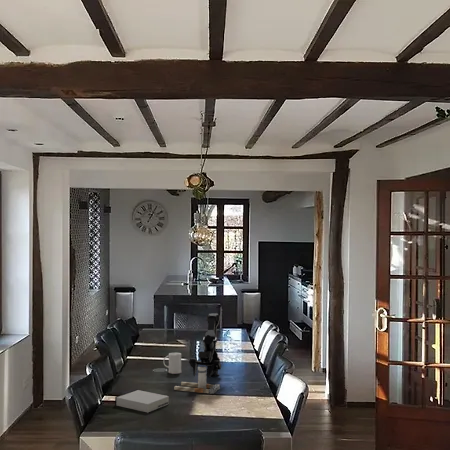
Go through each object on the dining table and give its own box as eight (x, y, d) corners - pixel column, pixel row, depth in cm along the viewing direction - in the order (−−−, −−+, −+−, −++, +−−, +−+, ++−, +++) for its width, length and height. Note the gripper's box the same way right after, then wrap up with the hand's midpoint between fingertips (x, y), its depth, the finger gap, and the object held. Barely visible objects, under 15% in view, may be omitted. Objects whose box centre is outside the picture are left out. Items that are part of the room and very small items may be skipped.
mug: (162, 373, 381) (162, 354, 381) (164, 370, 390) (164, 352, 390) (180, 373, 380) (180, 355, 380) (182, 370, 389) (182, 352, 389)
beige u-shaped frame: (174, 390, 343) (174, 385, 343) (181, 385, 353) (181, 380, 353) (213, 393, 335) (213, 389, 335) (219, 388, 346) (219, 384, 346)
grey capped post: (202, 388, 347) (202, 366, 347) (208, 389, 343) (208, 367, 343) (196, 389, 344) (196, 367, 344) (201, 391, 340) (201, 368, 340)
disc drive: (137, 398, 328) (137, 389, 328) (168, 404, 316) (169, 395, 316) (114, 406, 313) (115, 396, 313) (147, 413, 301) (147, 403, 301)
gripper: (190, 344, 350) (182, 367, 340) (219, 347, 344) (213, 370, 333) (195, 355, 357) (187, 377, 347) (224, 357, 351) (217, 380, 341)
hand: (201, 376), depth 342 cm, fingers open, 9 cm apart
